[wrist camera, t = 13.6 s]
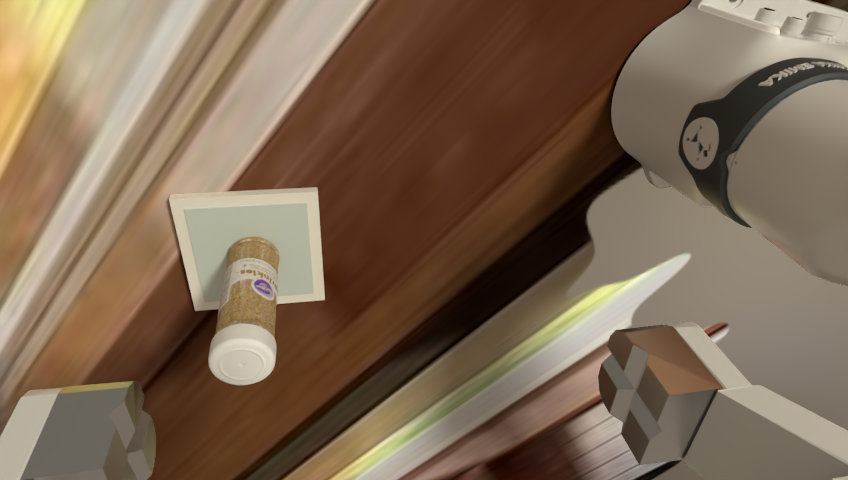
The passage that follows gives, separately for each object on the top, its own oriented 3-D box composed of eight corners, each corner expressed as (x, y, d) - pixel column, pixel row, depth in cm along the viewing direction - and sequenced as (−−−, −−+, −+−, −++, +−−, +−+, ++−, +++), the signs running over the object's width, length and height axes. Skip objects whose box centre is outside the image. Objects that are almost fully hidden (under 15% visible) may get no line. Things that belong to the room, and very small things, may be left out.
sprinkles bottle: (287, 244, 50) (285, 350, 39) (268, 281, 52) (261, 393, 41) (236, 227, 48) (220, 334, 37) (219, 267, 50) (198, 380, 39)
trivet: (317, 187, 49) (317, 192, 48) (324, 294, 55) (324, 300, 54) (170, 194, 46) (168, 199, 46) (196, 305, 53) (194, 311, 52)
